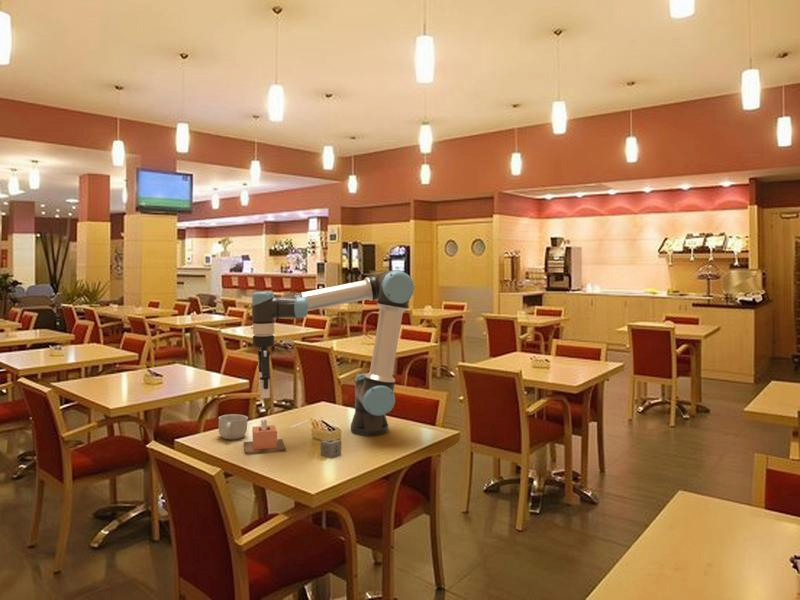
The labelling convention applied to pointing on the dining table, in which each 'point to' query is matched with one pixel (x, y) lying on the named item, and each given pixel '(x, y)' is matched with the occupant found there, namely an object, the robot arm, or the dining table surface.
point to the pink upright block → (264, 437)
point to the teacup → (232, 426)
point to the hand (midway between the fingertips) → (264, 393)
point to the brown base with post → (280, 448)
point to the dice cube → (330, 448)
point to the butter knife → (298, 424)
